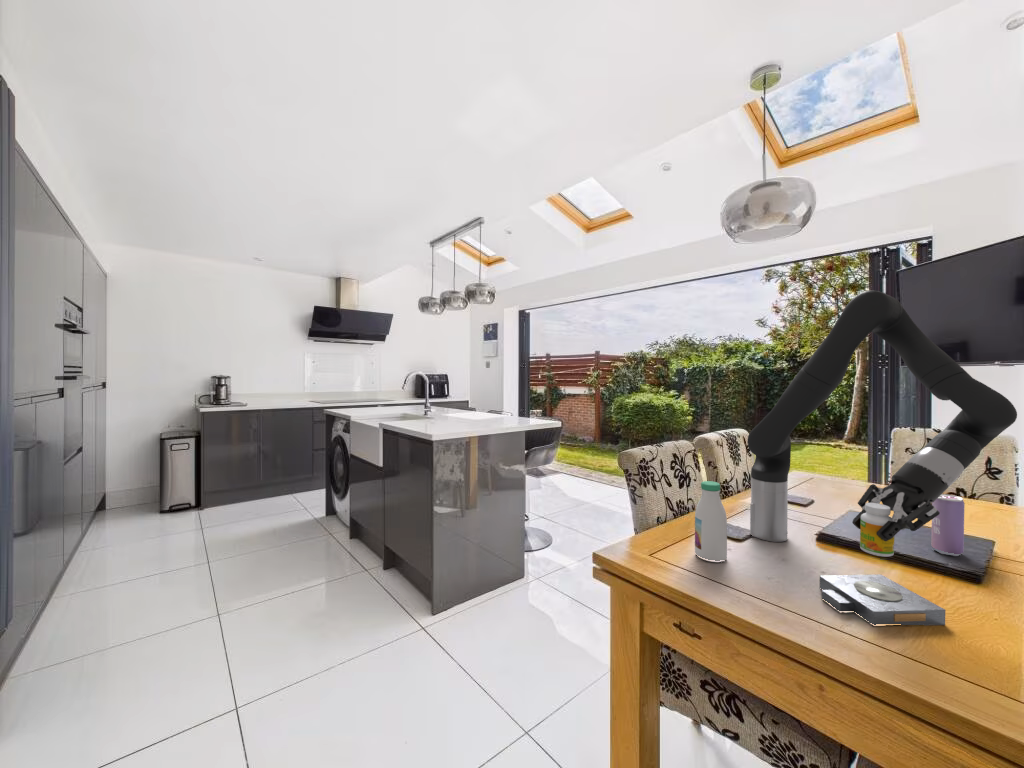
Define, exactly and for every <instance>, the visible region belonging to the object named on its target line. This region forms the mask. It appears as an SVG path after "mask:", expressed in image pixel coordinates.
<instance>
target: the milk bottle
mask: <svg viewBox="0 0 1024 768" xmlns="http://www.w3.org/2000/svg"><path fill="white" fill-rule="evenodd" d="M700 491H701V496H700V499H699V501H698V503H697V505H696V507H695V514H694V552H695V553H696V554H697V555H698V556H700V557H702V558H705V559H708V560H715V561H720V560H725V559H726V560H727V558H728V524H727V523H728V520H727V519H728V518H727V511H726V509H725V507H724V504H723V503H722V500H721V497H720V493H721V484H720V483H719V482H717V481H712V480H711V481H710V480H705V481H704V480H703V481H701V483H700ZM695 553H694V554H695ZM696 554H695V555H696Z"/></svg>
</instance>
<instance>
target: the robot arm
mask: <svg viewBox="0 0 1024 768" xmlns="http://www.w3.org/2000/svg"><path fill="white" fill-rule="evenodd" d="M871 332H872V333H873V334H875V335H876V336H878V337H879V338H880V339H882V340H883V341H884V342H885V343H887V344H888V345H889V346H891V348H893V349H894V351H895V352H896V353H897V354H898V355H899V357H900V358H901V359H902V362H904V365H905V366H906V367H907V368H908V370H909V371H910V372H911V374H913V376H914V377H915V378H916V379H917V380H918V381H919V382H920V383H921V384H922V385H923V386H924V387H925V388H926V389H927V391H929V392H930V394H932V395H933V396H934V397H936V398H937V399H939V400H941V401H951V402H952V403H953V404H954V405H956V406H957V407H958V408H960V409H961V410H960V412H959V413H958V414H957V415H956V416H955V417H954V418H953V419H952V420H951V421H950V422H949V423H948V424H947V426H946V427H945V428H944V429H943V430H942V431H940V432H939V433H937V434H936V435H935V436H934V437H933V438H931V440H930V441H928V442H927V444H926V445H924V446H923V448H921V449H920V450H919V451H917V452H916V453H915V454H914V455H912V457H910V458H909V459H908V460H907V461H906V462H905V463H904V464H903V465H902V466H901V467H900V468H899V469H898V470H897V471H895V473H893V475H892V476H891V483H890V484H889V485H887V486H884V487H878V486H877V485H876V484H873V483H871V484H870V485H869V486H868V488H867V489H866V491H865V492H864V493H863V495H862V496H861V498H859V500H858V502H857V505H858V506H859V507H860V508H861V511H860V512H859V513H858V514H857V515H856V516H855V517H854V518H853V519H852V524H853V526H855V528H856V529H858V530H860V522H861V515H862V514H863V513H866V511H865V504H866V503H878V504H883V505H886V506H889V507H890V511H891V512H893V513H892V516H891V518H892V519H891V521H892V522H891V521H888V522H887V523H886V524H885V525H884V526H883V527H882V528H881V529H879V530H878V531H877V533H876V534H877V536H878V537H880V538H881V539H882V540H884V541H888V540H890V539H892V538H893V537H894V538H895V536H897V534H898V533H899V532H900V531H904V530H910V531H911V532H916V531H918V530H919V529H920V528H922V527H923V526H924V525H926V524H928V523H929V522H931V521H932V519H933V518H935V517H936V516H938V515H939V514H940V512H939V511H938V510H937V509H936V508H935V507H934V506H933V505H932V502H934V501H935V500H936V499H937V498H938V497H939V496H940V495H941V494H944V493H945V492H946V491H947V490H948V489H949V487H951V486H952V485H953V484H954V482H956V481H957V480H958V478H959V477H960V476H961V475H962V473H963V472H964V471H965V470H966V469H967V468H968V467H969V466H970V465H971V464H972V463H973V462H974V461H975V460H976V459H977V458H978V456H979V455H980V454H981V451H982V450H983V449H984V448H986V446H987V445H989V444H990V443H991V442H992V441H993V440H994V439H996V438H997V437H998V436H1000V434H1002V433H1003V432H1004V431H1005V430H1007V429H1008V428H1009V427H1011V426H1012V425H1013V424H1014V423H1015V422H1016V421H1017V417H1018V412H1017V409H1016V407H1015V406H1014V404H1013V402H1011V401H1010V400H1009V399H1008V398H1007V397H1006V396H1005V395H1003V394H1002V393H1000V392H998V391H997V390H995V389H993V388H991V387H989V386H988V385H987V384H985V383H983V382H981V381H979V380H978V379H976V378H974V377H973V376H971V375H970V373H968V372H967V370H965V369H964V368H963V367H962V366H961V365H960V364H959V363H957V361H955V360H954V359H953V357H951V356H950V355H948V353H946V352H945V351H944V350H942V349H941V348H940V347H939V346H938V345H936V344H935V342H933V341H932V340H931V339H930V338H929V337H928V336H927V335H926V334H925V333H924V332H923V331H922V329H920V328H919V327H918V326H917V324H916V323H915V322H914V320H913V319H912V318H911V317H910V315H909V314H908V312H907V311H906V309H905V308H904V306H903V305H902V304H901V302H900V301H899V299H897V298H896V297H893V296H891V295H889V294H887V293H885V292H882V291H879V290H865V291H863V292H860V293H859V294H857V295H855V297H853V298H852V299H851V300H850V301H849V302H848V303H847V305H846V306H845V308H844V309H843V311H842V312H841V314H840V316H839V317H838V319H837V320H836V322H835V323H834V325H833V327H832V328H831V330H830V331H829V332H828V334H827V336H826V337H825V338H824V340H823V341H822V342H821V344H819V346H818V347H817V349H816V350H815V351H814V353H812V355H811V357H810V358H809V359H808V360H807V362H806V363H805V364H804V365H803V366H802V368H800V370H799V371H798V372H797V374H796V375H795V376H794V378H793V379H792V380H791V382H790V383H789V385H787V387H786V389H785V390H784V392H783V393H782V394H781V396H780V397H779V399H778V400H777V402H776V403H775V405H774V406H773V407H772V409H771V410H770V411H769V412H768V413H767V414H766V415H765V416H764V417H763V419H761V421H759V422H758V424H756V425H755V426H754V428H752V430H750V432H749V434H748V435H747V439H746V440H747V441H746V443H747V448H748V449H749V451H750V452H751V453H752V454H753V455H755V458H754V463H753V465H752V466H751V471H750V477H751V478H750V486H751V487H750V491H751V493H750V494H751V495H750V501H751V502H750V505H749V508H750V509H749V510H750V511H749V514H750V516H749V519H750V521H749V529H750V530H749V531H750V532H749V533H750V534H751V535H752V536H751V537H754V538H757V539H760V540H763V541H765V542H775V543H781V542H786V541H787V540H788V515H789V514H788V512H789V511H788V508H789V507H788V506H789V505H788V501H789V500H788V498H789V496H788V486H789V485H788V482H789V481H788V479H789V472H790V469H791V455H792V454H791V453H792V443H791V434H792V432H793V431H794V430H795V428H796V427H797V426H798V425H799V424H800V423H801V422H802V421H803V420H804V419H806V418H807V417H808V416H809V415H810V414H812V413H813V412H814V411H815V410H816V409H818V408H819V407H820V406H821V405H822V404H823V403H824V402H825V401H826V400H827V399H829V398H830V396H831V395H832V394H833V392H834V391H835V390H836V389H837V388H838V386H840V384H841V383H842V381H843V380H844V377H845V375H846V373H847V371H848V368H849V365H850V362H851V359H852V357H853V355H854V353H855V351H856V350H857V348H858V347H859V345H860V344H861V343H862V342H863V341H864V340H865V339H866V338H867V336H868V335H869V334H870V333H871ZM916 519H917V520H916ZM913 521H914V522H913Z"/></svg>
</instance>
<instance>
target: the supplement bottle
mask: <svg viewBox="0 0 1024 768" xmlns="http://www.w3.org/2000/svg"><path fill="white" fill-rule="evenodd" d="M865 511H866V513H863V514H862V515H861V522H860V529H859V534H860V536H859V547H860V549H861V551H863V552H865V553H867V554H870V555H873V556H877V557H883V558H884V557H893V556H894V554H895V536H894V537H893V538H892V539H890V540H888V541H884V540H882V539H881V538H880V537H878V536H877V534H876V533H877V531H878V530H879V529H881V528H882V527H883V526H884V525H885V524H886V523H887V522H888V521H891V519H892V516H890V515H891V512H892V511H890V507H889V506H886V505H883V504H882V503H880V504H878V503H868V502H866V504H865ZM891 522H892V521H891Z"/></svg>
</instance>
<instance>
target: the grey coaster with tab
mask: <svg viewBox="0 0 1024 768" xmlns="http://www.w3.org/2000/svg"><path fill="white" fill-rule="evenodd" d="M820 588H821V589H823V590H821V589H820ZM819 589H820V590H821V600H822V599H824V600H825V601H827V602H828V603H830V604H831V605H832V606H833V607H835V608H836V609H837V610H839V611H854V612H856V613H857V614H859V615H860V616H862V617H863V618H864V619H866V620H867V621H869V622H870V623H872V624H874V625H876V624H901V625H924V626H946V609H945V608H943V607H941V606H939V605H938V604H936V603H934V602H932V601H930V600H929V599H927V598H925V597H923V596H921V595H919V594H917V593H916V592H914V591H912V590H910V589H908V588H906V587H905V586H903V585H901V584H899V583H897V582H896V581H894V580H892V579H890V578H888V577H887V576H886V575H883V574H880V573H879V574H875V573H874V574H848V575H847V574H845V575H844V574H840V575H839V574H837V575H835V574H834V575H819Z"/></svg>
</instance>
